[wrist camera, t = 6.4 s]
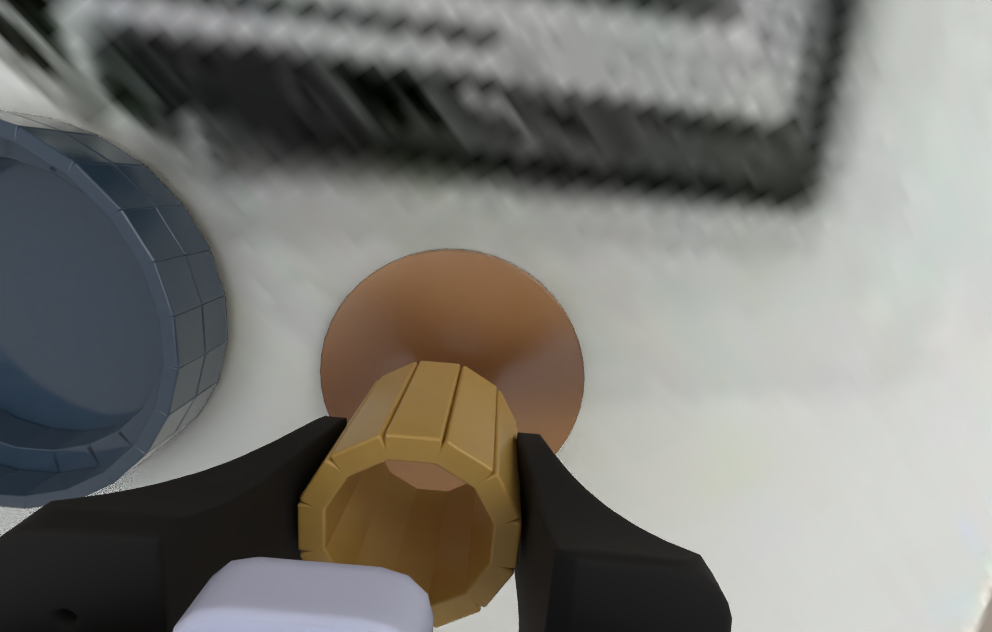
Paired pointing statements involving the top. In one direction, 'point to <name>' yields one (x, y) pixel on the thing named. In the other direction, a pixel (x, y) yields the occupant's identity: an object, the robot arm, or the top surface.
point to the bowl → (95, 313)
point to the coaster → (457, 342)
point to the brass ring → (421, 512)
